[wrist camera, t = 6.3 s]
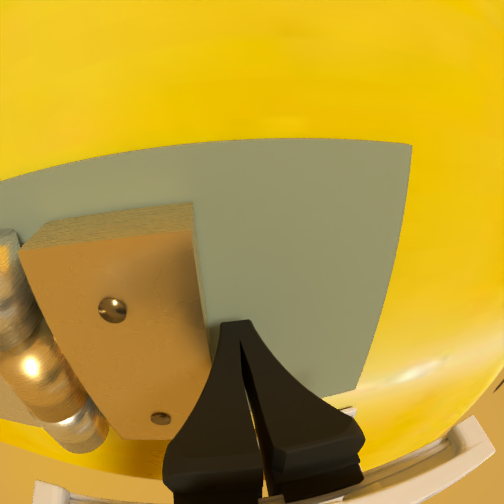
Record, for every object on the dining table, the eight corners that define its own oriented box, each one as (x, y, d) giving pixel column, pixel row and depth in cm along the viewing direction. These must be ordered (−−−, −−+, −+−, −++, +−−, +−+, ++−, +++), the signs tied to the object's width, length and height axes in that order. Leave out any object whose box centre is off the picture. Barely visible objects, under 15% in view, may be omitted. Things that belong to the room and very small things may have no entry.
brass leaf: (221, 400, 16) (229, 459, 13) (67, 402, 15) (55, 452, 11) (192, 201, 10) (189, 256, 7) (-22, 235, 9) (-71, 282, 5)
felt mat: (353, 385, 19) (354, 389, 18) (9, 401, 15) (7, 405, 15) (406, 143, 11) (412, 145, 11) (-89, 216, 8) (-93, 219, 7)
